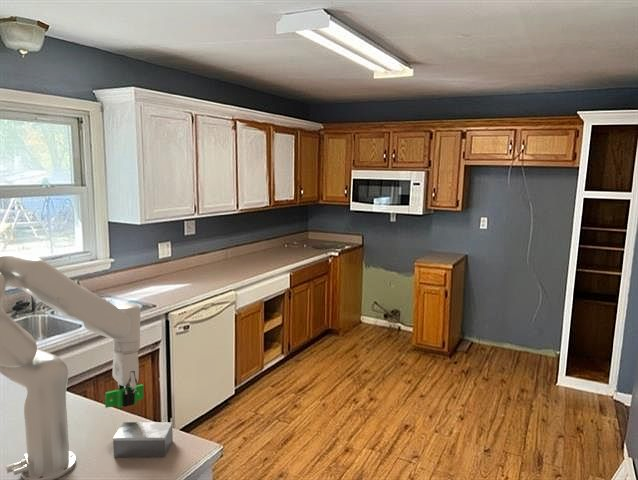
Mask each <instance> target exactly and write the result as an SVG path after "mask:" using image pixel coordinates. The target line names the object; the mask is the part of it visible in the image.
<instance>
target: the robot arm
mask: <svg viewBox="0 0 638 480" xmlns="http://www.w3.org/2000/svg"><path fill="white" fill-rule="evenodd" d="M8 287H11V288H12V287H13V288H16V289H18V290H22V292H24V293H27V295H30V296H32V298H34V299H36V300H38V301H40V302H41V303H43V304H44V305H46V306H48V307H50V308H51V309H52V310H54V311H55V312H57V313H60V314H62V315H64V316H66V317H69V318H73V319H75V320H78V321H81V322H82V324H83V327H84V328H85V329H86V330H87V331H89V332H90V333H93V334H95V335H99V336H102V337H106V338H108V339H112V341H113V342H112V344H113V345H112V351H113V355H112V356H113V357H112V372H111V373H112V378H113V379H114V380H115V381H116V382H117V390H118V389H123V388H124V394H123V406H122V407H125V408H126V407H130V406H134V393H135V389H136V385H137V384H138V382H139V376H140V375H139V374H140V373H139V372H140V369H139V367H140V366H139V350H140V349H141V307H140V306H139V305H138V304H135V303H122V304H118V305H115V304H113V303H111V302H109V301H108V300H106V299H104V298H102V297H101V296H99V295H97V294H96V293H94V292H92V291H90V290H89V289H87V288H86V287H84V286H82V285H81V284H79V283H78V282H76V281H74V280H73V279H72V278H70V277H68V276H67V275H66V274H65V273H63V272H61V271H60V270H58V269H57V268H56V267H54V266H53V265H51V264H50V263H49V262H47V261H45V260H43V259H41V258H40V257H36V256H33V255H27V254H22V253H11V254H1V255H0V374H1V375H3V376H4V377H6V379H9V380H10V381H12V382H14V383H16V384H18V385H20V386H21V387H23V388H25V389H26V391H27V393H26V396H25V397H26V398H25V401H24V405H23V417H24V426H25V440H26V442H25V443H26V453H24V455H23V456H24V458H22V459H20V460H19V461H17V462H13V463H11V464H10V463H9V464H7V465H5V469H6V470H5V471H6V474H9V473H12V472H13V476H16V475H19V474H20V475H21V478H22V479H23V480H56V479H58V478H61V477H63V476H65V475H66V474H67V473H69V472H70V471H71V470H73V469H74V467H75V465H76V462H77V457H76V455H75V452H74V453H73V451H70V445H69V430H68V429H69V427H68V426H69V425H68V408H67V388H68V387H67V386H68V381H69V368H68V365H67V363H66V362H65V361H64V359H63V358H61V357H60V356H58V355H56V354H53V353H50V352H48V351H45V350H41V349H39V348H38V344H37V342H36V340H35V338H34V337H33V336H32V334H31V333H29V331H27V330H26V329H24V328H23V327H22V326H21V325H20V324H19V323H18V322H16V321H15V320H13V318H12V317H11V316H10V315H9V314H8V313H7V312H6V311H5V309H4V308H3V300H4V299H3V298H4V296H5V294H6V293H5V292H6V288H8ZM127 387H128V389H127Z"/></svg>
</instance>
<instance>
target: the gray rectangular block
mask: <svg viewBox="0 0 638 480" xmlns="http://www.w3.org/2000/svg"><path fill="white" fill-rule="evenodd" d="M173 433H174V432H173V422H172V421H170V422H168V421H160V422H159V421H154V422H153V421H151V422H149V421H145V422H144V421H141V422H140V421H138V422H136V421H134V422H133V421H132V422H131V421H129V422H128V421H124V422H123V423H122V424H121V425H120V427H119V428H118V430H117V432H116V433H115V434H114V436H113V439H112V440H113V443H112V444H113V458H114V459H118V458H119V459H122V458H123V459H125V458H126V459H128V458H129V459H131V458H132V459H133V458H134V459H135V458H137V459H139V458H140V459H141V458H144V459H146V458H147V459H148V458H151V459H152V458H154V459H155V458H159V459H161V458H163V459H165V458H166V457H167V455H168V452H169V450H170V448H171V445H172V443H173V442H174V441H173V437H174V435H173Z"/></svg>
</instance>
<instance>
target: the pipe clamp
mask: <svg viewBox="0 0 638 480" xmlns="http://www.w3.org/2000/svg"><path fill="white" fill-rule="evenodd" d="M144 388H145V385H144V384H143V383H142V384H138V385H137V384H136V389H135V393H134V404H133V406H134V405H135V406H136V405H137V404H138V401H139V400H143V399H144ZM127 389H128V387H127ZM104 393H105V396H104V400H105V401H104V403H105V404H104V407H105V408H106V409H107V408H112V407H115V406H116V407H117V408H118V409H122V408H123V407H124V406H123V394H124V388H123V389H118V388H117V389H114V390H110V391H106V392H104Z"/></svg>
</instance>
